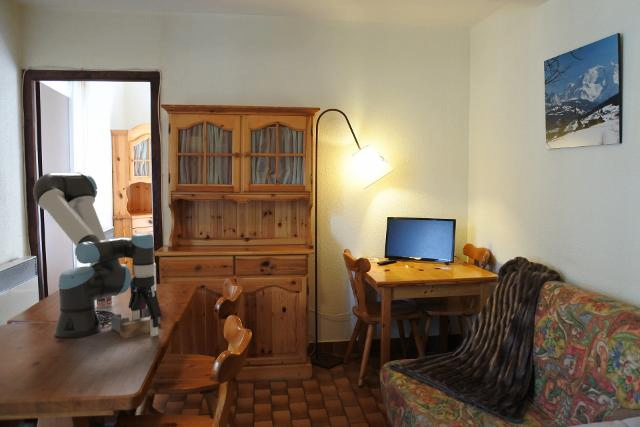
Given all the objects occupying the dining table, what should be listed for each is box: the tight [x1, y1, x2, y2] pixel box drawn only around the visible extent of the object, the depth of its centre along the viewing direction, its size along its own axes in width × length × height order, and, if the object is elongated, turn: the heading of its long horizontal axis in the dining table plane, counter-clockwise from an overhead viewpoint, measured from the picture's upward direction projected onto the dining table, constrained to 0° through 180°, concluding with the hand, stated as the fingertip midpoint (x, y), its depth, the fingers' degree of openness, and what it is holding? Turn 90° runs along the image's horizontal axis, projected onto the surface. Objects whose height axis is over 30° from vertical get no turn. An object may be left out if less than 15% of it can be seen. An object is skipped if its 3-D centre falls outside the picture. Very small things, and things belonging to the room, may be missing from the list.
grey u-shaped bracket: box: [110, 313, 130, 334], centre depth 187 cm, size 4×7×5 cm, turn 47°
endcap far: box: [141, 308, 161, 325], centre depth 196 cm, size 4×7×5 cm, turn 47°
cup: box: [129, 278, 146, 317], centre depth 206 cm, size 7×7×15 cm
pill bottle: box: [96, 296, 113, 308], centre depth 219 cm, size 6×6×11 cm
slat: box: [119, 316, 151, 339], centre depth 183 cm, size 12×4×5 cm, turn 137°
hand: (145, 331), depth 185 cm, fingers open, 13 cm apart
